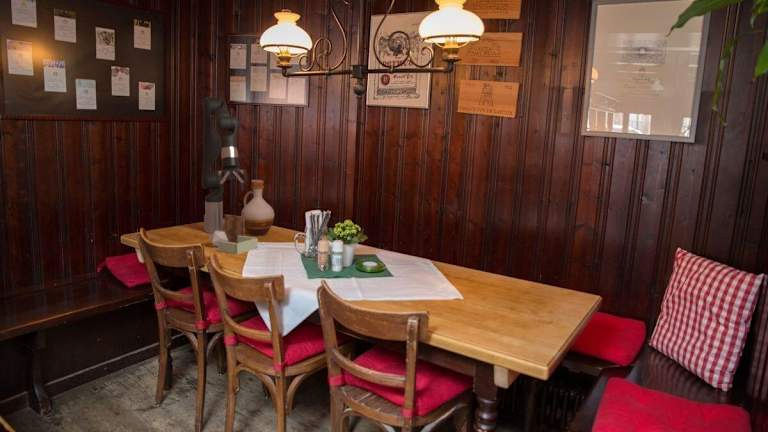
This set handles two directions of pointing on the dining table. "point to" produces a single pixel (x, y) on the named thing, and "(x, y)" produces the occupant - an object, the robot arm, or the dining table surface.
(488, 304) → the dining table surface
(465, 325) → the dining table surface
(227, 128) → the robot arm
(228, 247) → the tray
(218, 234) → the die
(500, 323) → the dining table surface
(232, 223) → the menu board
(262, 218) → the jug
